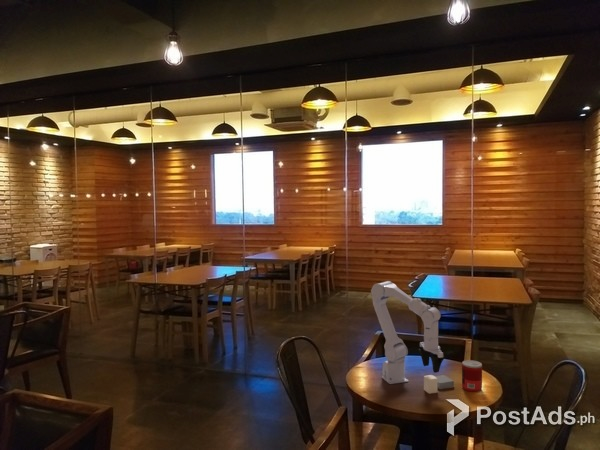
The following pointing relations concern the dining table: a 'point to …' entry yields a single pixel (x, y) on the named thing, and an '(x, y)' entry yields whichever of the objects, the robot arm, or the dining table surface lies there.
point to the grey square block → (444, 382)
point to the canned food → (472, 376)
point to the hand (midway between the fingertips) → (430, 368)
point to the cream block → (430, 384)
